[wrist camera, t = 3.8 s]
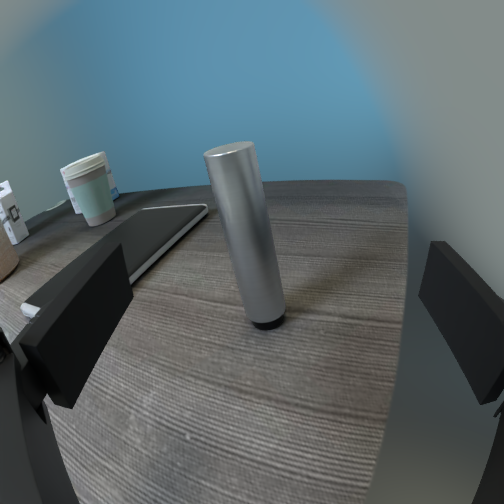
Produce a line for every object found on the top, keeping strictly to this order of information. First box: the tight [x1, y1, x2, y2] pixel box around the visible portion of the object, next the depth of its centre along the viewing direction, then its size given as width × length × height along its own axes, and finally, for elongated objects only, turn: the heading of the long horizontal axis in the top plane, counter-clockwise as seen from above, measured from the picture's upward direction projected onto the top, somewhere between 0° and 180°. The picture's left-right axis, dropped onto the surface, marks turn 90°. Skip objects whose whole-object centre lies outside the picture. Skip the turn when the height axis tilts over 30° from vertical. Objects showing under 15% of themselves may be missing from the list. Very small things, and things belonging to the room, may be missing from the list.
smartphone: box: [21, 204, 208, 318], centre depth 39 cm, size 13×27×2 cm, turn 158°
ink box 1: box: [0, 180, 29, 245], centre depth 60 cm, size 8×5×15 cm, turn 82°
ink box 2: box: [60, 151, 119, 214], centre depth 66 cm, size 8×8×12 cm
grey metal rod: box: [204, 141, 286, 330], centre depth 21 cm, size 3×3×13 cm
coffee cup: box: [64, 155, 116, 227], centre depth 54 cm, size 9×9×12 cm
